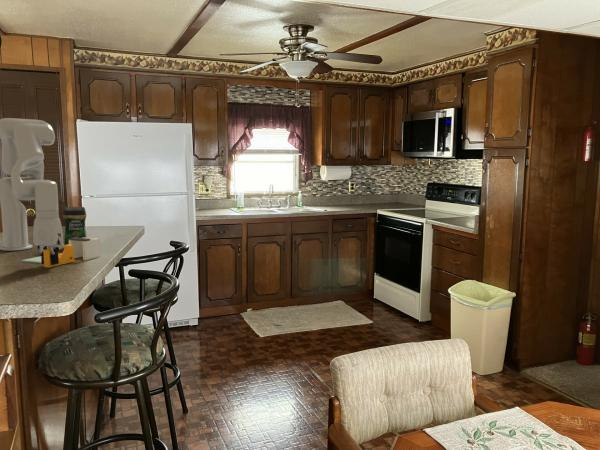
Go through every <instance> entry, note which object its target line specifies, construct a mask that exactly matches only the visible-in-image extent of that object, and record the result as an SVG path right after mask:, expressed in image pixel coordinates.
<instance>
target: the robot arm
mask: <svg viewBox="0 0 600 450" xmlns="http://www.w3.org/2000/svg"><path fill="white" fill-rule="evenodd" d="M0 140H1V144H2V145H1V147H2V149H1V168H2V169H1V170H2V172H3V173H4V174H5V175H7V176H8V177H7V176H6V177H3V178H0V209H1V210H0V211H1V224H2V238H1V239H0V244H1V246H0V251H4V252H5V251H7V252H9V251H23V250H24V251H25V250H29V249H32V248H33V245H34V246H35V247H36V249H38V251H39V254H40V256H41V262H42V263H41V265H44V254H43V250H45V249H51V253H52V254H50V260H51V265H55V264H58V263H59V259H58V254H60V253H61V250H63V249H64V247H65V245H64V234H63V233H64V231H63V227H62V221H61V218H60V215H59V214H60V212H59V211H60V210H59V209H60V208H59V195H58V194H59V192H58V183H57V182H56V181H52V180H50V179H44V177H45V175H44V173H45V164H44V160H45V155H44V151H43V148H42V146H51V145H53V144H54V143H55V141H56V135H55V131H54V128H53V127H52V125H51V124H49V123H48V122H46V121H45V120H42V119H41V120H40V119H28V118H19V117H18V118H15V117H14V118H13V117H3V118H1V119H0ZM21 201H35V203H34V205H35V213H34V214H35V218H34V219H33V229H32V231H33V233H32V238H33V239H32V240H33V244H32V243H29V233H28V231H29V230H28V216H27V213H28V212H27V208H26V206H25V205H24V204H23V203H22V202H21ZM49 247H50V248H49Z"/></svg>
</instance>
